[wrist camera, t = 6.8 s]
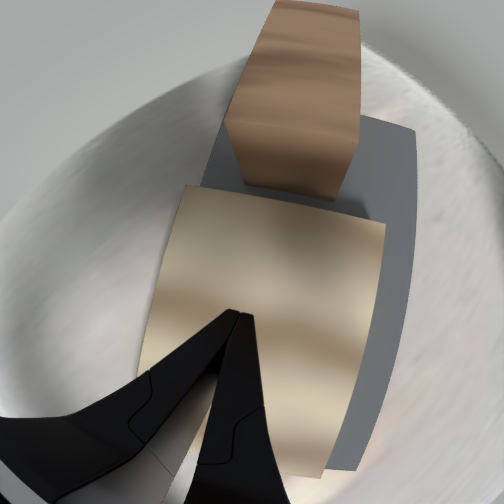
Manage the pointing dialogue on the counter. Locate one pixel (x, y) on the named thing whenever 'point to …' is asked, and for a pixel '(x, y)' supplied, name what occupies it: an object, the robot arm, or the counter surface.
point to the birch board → (274, 306)
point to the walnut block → (299, 101)
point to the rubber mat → (393, 259)
